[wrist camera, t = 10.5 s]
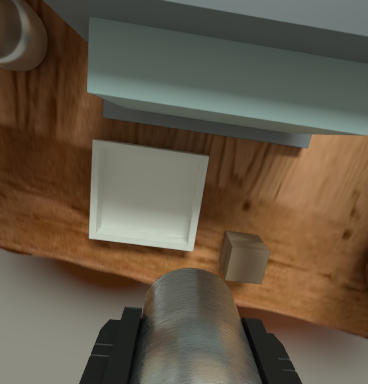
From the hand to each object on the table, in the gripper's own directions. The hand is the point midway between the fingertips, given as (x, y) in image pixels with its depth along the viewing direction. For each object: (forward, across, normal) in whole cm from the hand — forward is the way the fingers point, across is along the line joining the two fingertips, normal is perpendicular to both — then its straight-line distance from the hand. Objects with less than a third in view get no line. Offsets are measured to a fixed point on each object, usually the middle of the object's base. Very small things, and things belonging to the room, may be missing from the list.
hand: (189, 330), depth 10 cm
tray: (+20, +4, 0) cm, 21 cm away
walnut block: (+20, -9, +6) cm, 23 cm away
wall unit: (+20, -2, -12) cm, 23 cm away
